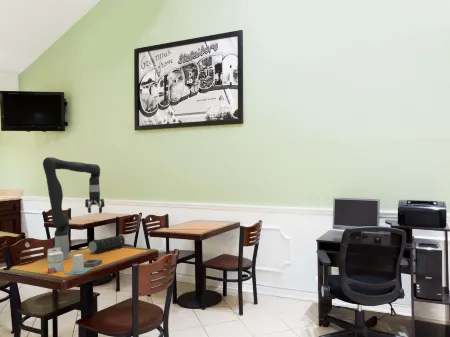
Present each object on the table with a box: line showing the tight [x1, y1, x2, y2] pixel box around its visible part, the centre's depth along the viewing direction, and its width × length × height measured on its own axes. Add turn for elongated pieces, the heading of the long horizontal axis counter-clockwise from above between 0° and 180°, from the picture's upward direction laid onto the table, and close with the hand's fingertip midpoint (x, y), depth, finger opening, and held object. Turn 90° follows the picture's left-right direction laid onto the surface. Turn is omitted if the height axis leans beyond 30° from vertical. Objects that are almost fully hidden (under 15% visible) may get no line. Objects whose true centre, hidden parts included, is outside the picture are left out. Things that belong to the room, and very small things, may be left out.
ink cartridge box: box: [46, 247, 65, 274], centre depth 235 cm, size 9×5×15 cm, turn 129°
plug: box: [72, 253, 85, 272], centre depth 232 cm, size 4×4×10 cm
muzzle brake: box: [88, 234, 126, 254], centre depth 292 cm, size 10×28×10 cm, turn 144°
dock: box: [83, 259, 103, 268], centre depth 247 cm, size 10×10×2 cm
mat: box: [63, 267, 93, 275], centre depth 232 cm, size 12×12×1 cm
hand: (95, 213), depth 271 cm, fingers open, 8 cm apart
